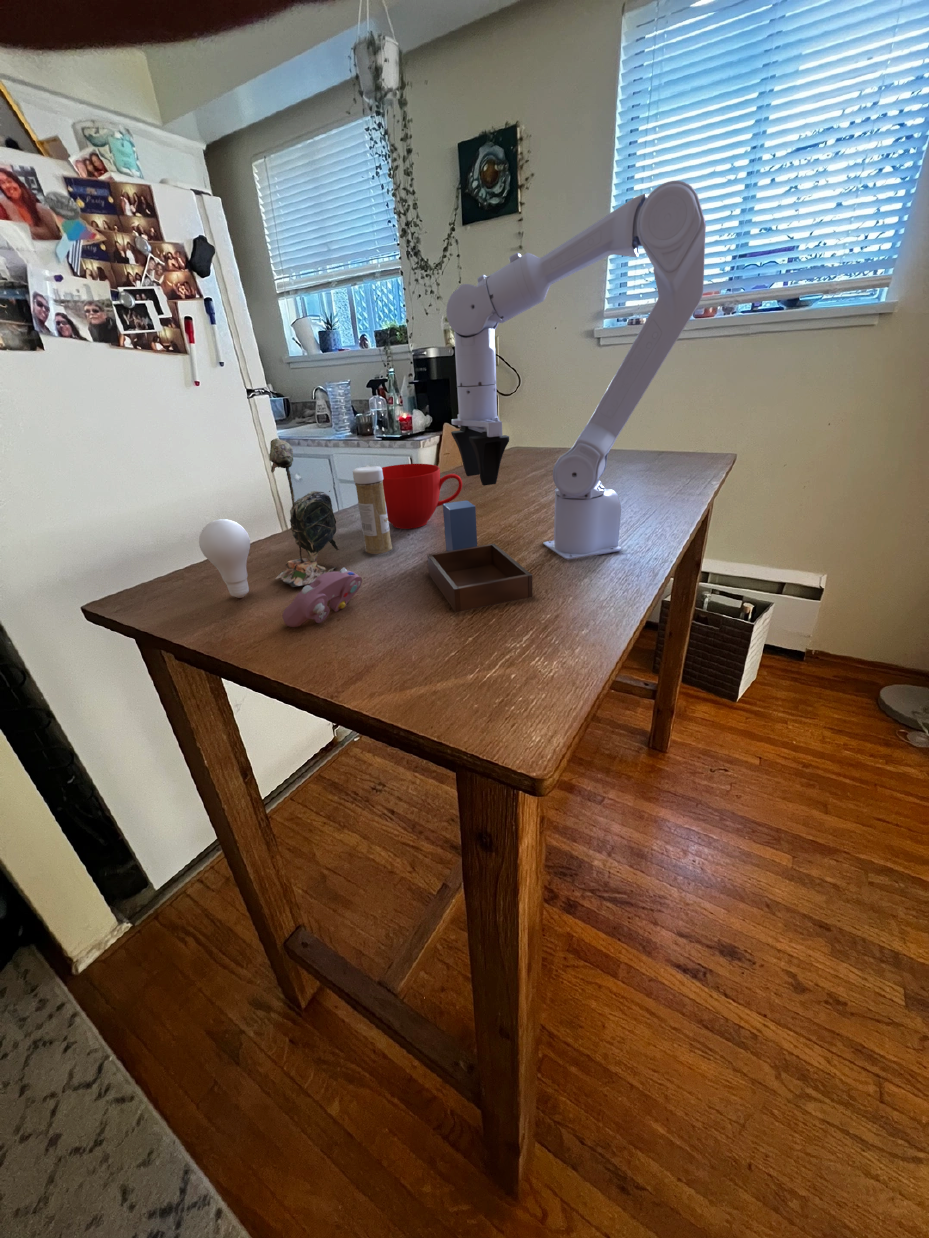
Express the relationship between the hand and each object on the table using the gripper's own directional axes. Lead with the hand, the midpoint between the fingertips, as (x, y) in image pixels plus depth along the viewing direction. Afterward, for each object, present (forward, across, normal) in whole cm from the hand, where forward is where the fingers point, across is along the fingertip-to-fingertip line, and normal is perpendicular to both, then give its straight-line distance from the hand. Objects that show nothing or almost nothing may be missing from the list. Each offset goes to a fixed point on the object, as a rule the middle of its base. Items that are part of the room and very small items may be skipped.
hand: (480, 479), depth 79 cm
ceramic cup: (+11, -16, -7) cm, 20 cm away
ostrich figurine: (+11, +2, -28) cm, 30 cm away
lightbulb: (+11, +6, -38) cm, 40 cm away
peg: (+10, +4, -5) cm, 12 cm away
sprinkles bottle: (+11, -4, -17) cm, 20 cm away
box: (+10, +17, -7) cm, 21 cm away
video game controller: (+11, +17, -27) cm, 34 cm away
